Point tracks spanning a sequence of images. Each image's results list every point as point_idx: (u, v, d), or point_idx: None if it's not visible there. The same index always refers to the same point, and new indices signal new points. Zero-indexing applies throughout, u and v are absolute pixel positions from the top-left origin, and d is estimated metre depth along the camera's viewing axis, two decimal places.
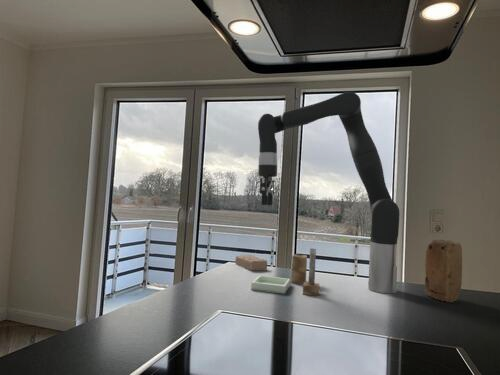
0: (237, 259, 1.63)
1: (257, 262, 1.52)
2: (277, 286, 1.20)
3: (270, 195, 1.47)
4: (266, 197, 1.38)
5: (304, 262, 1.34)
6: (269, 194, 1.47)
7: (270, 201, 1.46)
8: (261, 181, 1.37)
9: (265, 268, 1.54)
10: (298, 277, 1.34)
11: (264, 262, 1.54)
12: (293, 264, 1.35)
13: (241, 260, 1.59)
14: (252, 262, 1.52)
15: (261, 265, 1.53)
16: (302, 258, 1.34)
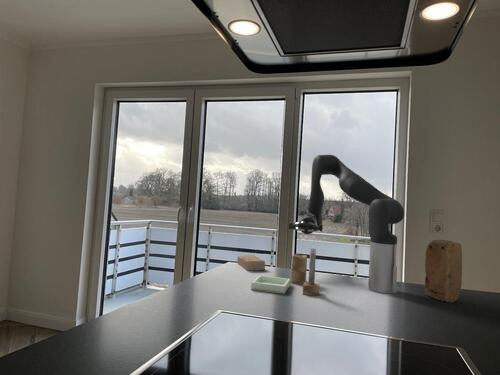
0: (238, 259, 1.64)
1: (254, 262, 1.52)
2: (277, 286, 1.20)
3: None
4: None
5: (304, 262, 1.34)
6: None
7: (314, 227, 1.48)
8: None
9: (263, 268, 1.53)
10: (298, 277, 1.34)
11: (261, 262, 1.53)
12: (293, 264, 1.35)
13: (241, 260, 1.60)
14: (249, 262, 1.52)
15: (258, 265, 1.53)
16: (302, 258, 1.34)
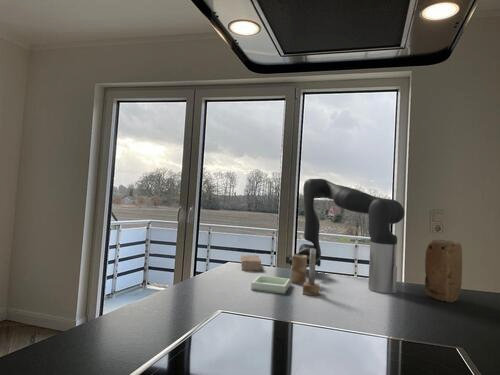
0: None
1: (249, 262, 1.52)
2: (277, 286, 1.20)
3: None
4: (290, 259, 1.46)
5: (304, 262, 1.34)
6: None
7: None
8: None
9: (258, 269, 1.52)
10: (298, 277, 1.34)
11: (256, 263, 1.52)
12: (293, 264, 1.35)
13: (241, 259, 1.61)
14: (243, 261, 1.52)
15: (253, 265, 1.52)
16: (302, 258, 1.34)
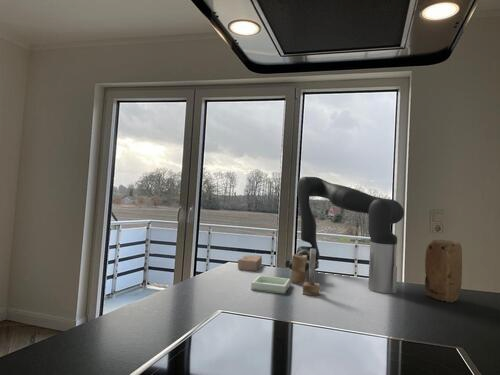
0: None
1: (244, 261, 1.52)
2: (277, 286, 1.20)
3: None
4: (291, 262, 1.38)
5: (304, 262, 1.34)
6: None
7: None
8: None
9: (253, 269, 1.52)
10: (298, 277, 1.34)
11: (252, 262, 1.52)
12: (293, 264, 1.35)
13: None
14: (239, 261, 1.53)
15: (249, 265, 1.52)
16: (302, 258, 1.34)
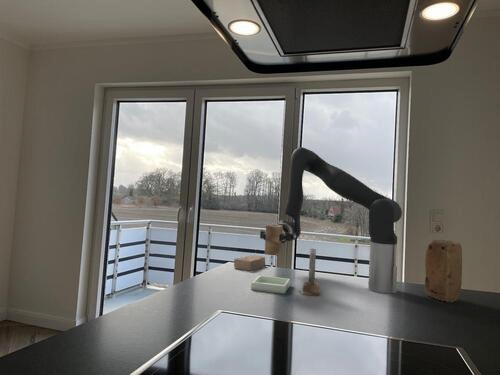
0: None
1: (239, 261, 1.54)
2: (277, 286, 1.20)
3: None
4: (265, 233, 1.28)
5: (278, 232, 1.24)
6: None
7: None
8: None
9: (248, 268, 1.52)
10: (272, 248, 1.25)
11: (246, 262, 1.52)
12: (267, 234, 1.25)
13: None
14: (235, 260, 1.55)
15: (243, 264, 1.53)
16: (276, 227, 1.24)
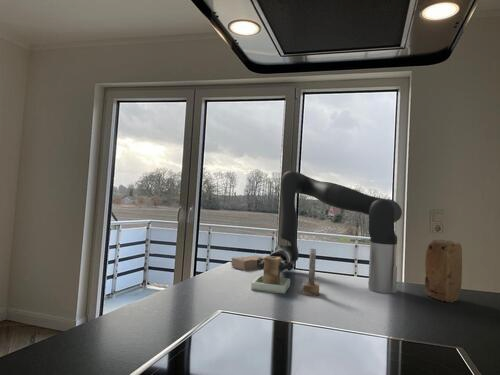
0: None
1: (235, 260, 1.55)
2: (277, 286, 1.20)
3: None
4: (262, 262, 1.28)
5: (277, 264, 1.23)
6: None
7: None
8: None
9: (242, 268, 1.52)
10: (271, 281, 1.24)
11: (241, 261, 1.53)
12: (265, 266, 1.24)
13: None
14: (232, 259, 1.57)
15: (238, 264, 1.54)
16: (275, 260, 1.24)
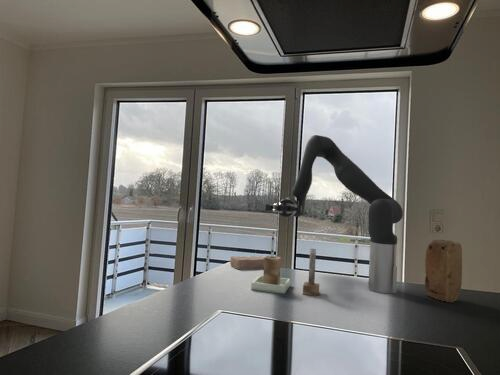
0: None
1: (233, 258, 1.58)
2: (277, 286, 1.20)
3: None
4: None
5: (277, 264, 1.23)
6: None
7: None
8: None
9: (236, 267, 1.54)
10: (271, 281, 1.24)
11: (236, 260, 1.55)
12: (265, 266, 1.24)
13: None
14: (231, 257, 1.60)
15: (234, 262, 1.56)
16: (274, 260, 1.24)
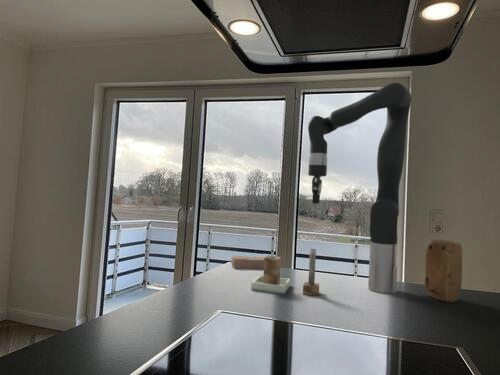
0: None
1: (232, 257, 1.60)
2: (277, 286, 1.20)
3: (318, 194, 1.53)
4: (317, 196, 1.45)
5: (277, 264, 1.23)
6: None
7: (317, 199, 1.53)
8: (314, 181, 1.43)
9: (233, 266, 1.56)
10: (271, 281, 1.24)
11: (233, 259, 1.57)
12: (265, 266, 1.24)
13: None
14: None
15: (232, 261, 1.58)
16: (274, 260, 1.24)
